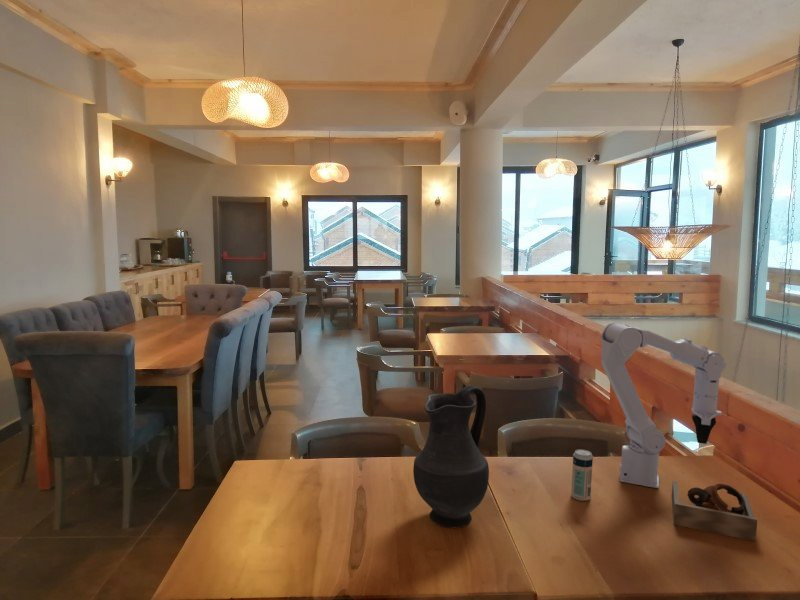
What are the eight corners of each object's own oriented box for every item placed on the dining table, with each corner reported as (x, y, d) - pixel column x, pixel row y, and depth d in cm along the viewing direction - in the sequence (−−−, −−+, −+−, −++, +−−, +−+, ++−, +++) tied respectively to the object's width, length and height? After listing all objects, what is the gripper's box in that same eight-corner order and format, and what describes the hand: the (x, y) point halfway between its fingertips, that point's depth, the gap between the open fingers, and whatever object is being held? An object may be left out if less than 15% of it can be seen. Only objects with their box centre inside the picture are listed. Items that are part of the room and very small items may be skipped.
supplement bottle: (588, 493, 140) (590, 449, 138) (592, 502, 135) (595, 456, 134) (569, 492, 140) (571, 448, 139) (573, 501, 136) (575, 455, 134)
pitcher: (398, 517, 127) (399, 392, 124) (452, 488, 142) (455, 376, 139) (457, 546, 115) (461, 410, 112) (510, 511, 131) (514, 389, 127)
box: (673, 524, 125) (675, 503, 125) (671, 495, 139) (673, 477, 139) (755, 541, 119) (757, 519, 118) (744, 509, 133) (746, 490, 132)
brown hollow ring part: (724, 504, 136) (742, 485, 131) (735, 538, 128) (755, 519, 124) (676, 490, 137) (693, 470, 132) (684, 523, 129) (702, 503, 124)
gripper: (725, 403, 138) (721, 454, 140) (720, 389, 151) (716, 436, 153) (694, 399, 141) (690, 449, 143) (691, 386, 154) (687, 432, 156)
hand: (701, 442), depth 148 cm, fingers closed
